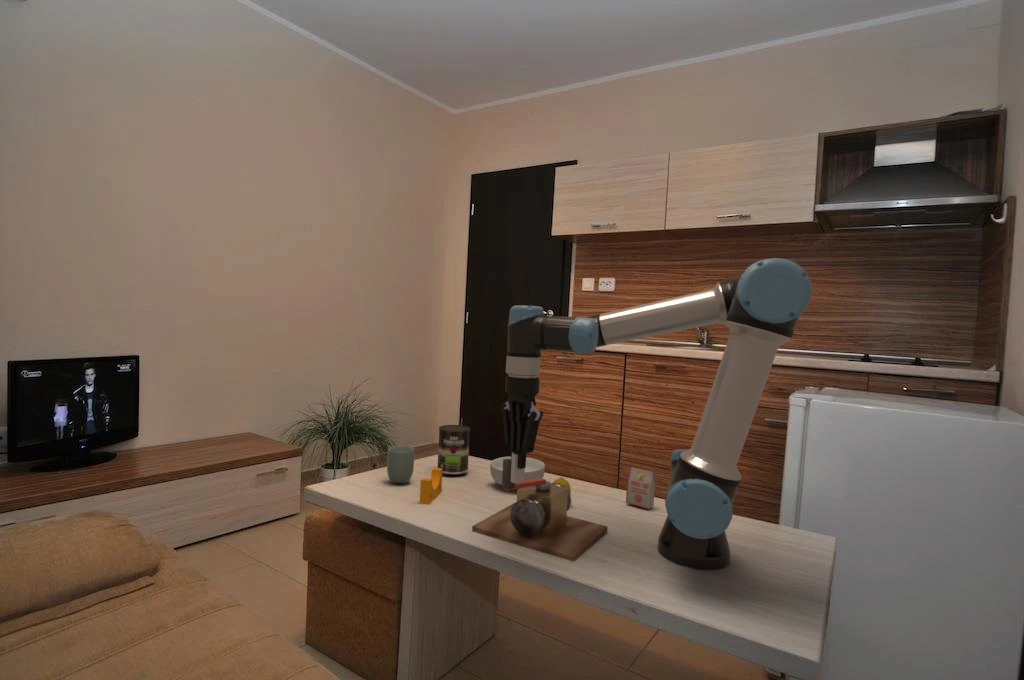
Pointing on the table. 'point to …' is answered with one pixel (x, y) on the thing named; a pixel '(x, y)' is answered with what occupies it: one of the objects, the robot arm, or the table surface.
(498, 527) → the mount board
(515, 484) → the lever
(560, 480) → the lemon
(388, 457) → the cup
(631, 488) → the white red food package
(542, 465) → the cereal bowl
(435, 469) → the orange arch block
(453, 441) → the coffee can
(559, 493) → the valve
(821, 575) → the table surface
